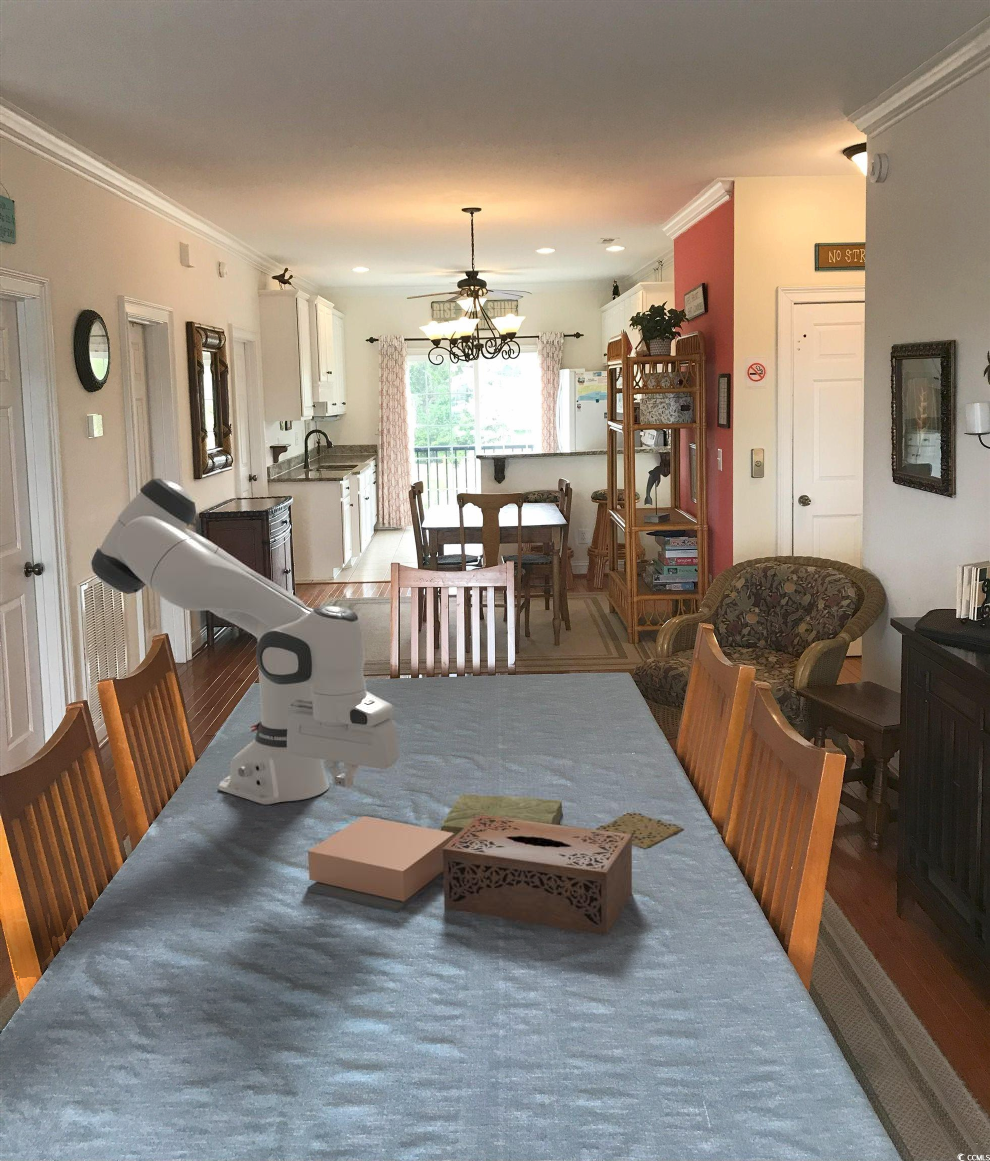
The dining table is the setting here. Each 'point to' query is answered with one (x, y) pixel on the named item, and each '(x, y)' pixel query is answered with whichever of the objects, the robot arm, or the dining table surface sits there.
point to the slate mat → (367, 895)
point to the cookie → (642, 829)
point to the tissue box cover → (539, 873)
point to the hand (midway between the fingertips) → (343, 786)
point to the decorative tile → (500, 810)
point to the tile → (379, 858)
